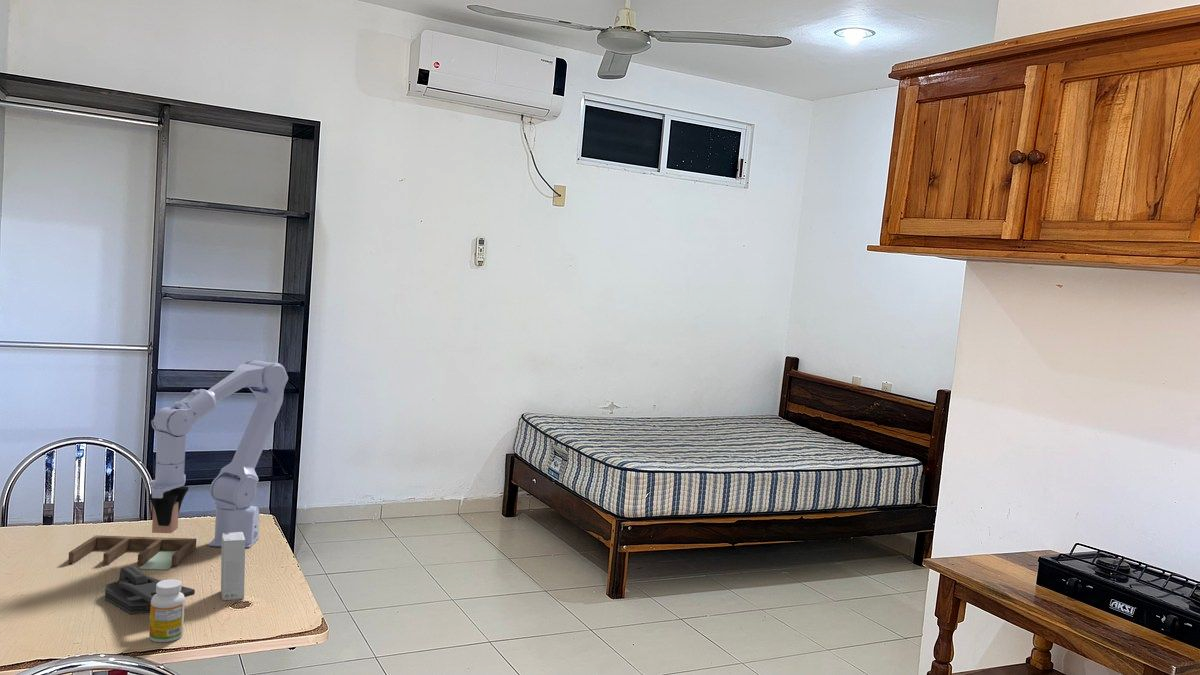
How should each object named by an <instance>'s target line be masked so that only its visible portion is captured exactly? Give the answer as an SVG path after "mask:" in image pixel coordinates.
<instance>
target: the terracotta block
mask: <svg viewBox="0 0 1200 675" xmlns="http://www.w3.org/2000/svg"><path fill="white" fill-rule="evenodd" d="M178 508H179V502H175V504H174V507H173V511H172V517H171V521H170V524H169V526H159V525H158V521H157V517H156V512H155V509H154V506H153V505H152V521H151V522H152V525H151V533H152V534H154V533H155V534H172V533H174V532H175V531H177V529H178V528H179V514H178Z"/></svg>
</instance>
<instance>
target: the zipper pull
mask: <svg viewBox="0 0 1200 675" xmlns="http://www.w3.org/2000/svg"><path fill="white" fill-rule="evenodd" d="M118 576H119V577H118V580H116V581H113V582H110V583H107V584H106V585H105V589H104V590H105V591H104V601H105V602H107V603H108V604H111V605H113V606H114V607H116V608H118V609H119V608H120V610H121V611H122V612H124V613H127V614H128V615H147V614H150V608H151V599H152V597H153V596H154V595H155V594H157V593H156V584H157V583H158V582H160V581H161V580H160V579H158V578H153V577H151V576H147V575H146V574H145V573H144V572H142V570H141V569H139V568H137V567H136V566H133V565H129V566H123V567H121V568H120V571H119V575H118ZM180 592H181V593H183V595H184V597H185V598H188V597H190V596H195V594H196V590H195V589H194V588H190V587H186V586H183V585H181V591H180Z"/></svg>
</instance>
